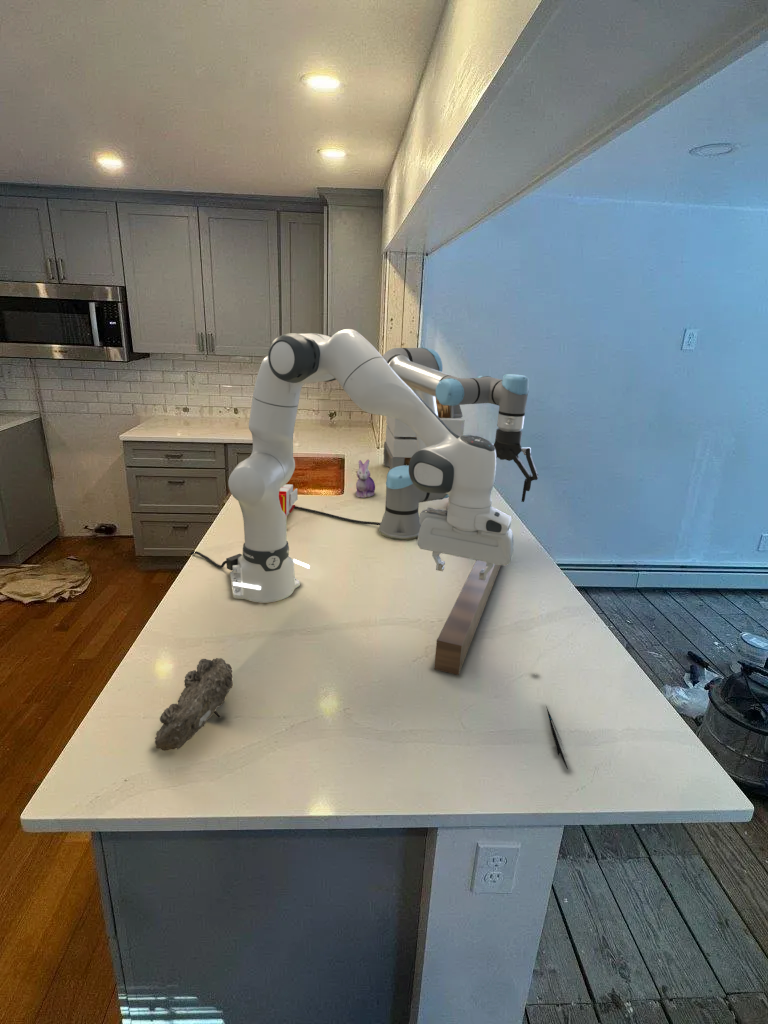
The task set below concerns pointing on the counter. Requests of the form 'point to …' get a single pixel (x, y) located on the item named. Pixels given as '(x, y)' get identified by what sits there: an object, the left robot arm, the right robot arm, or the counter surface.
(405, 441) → the white storage bin
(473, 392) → the right robot arm
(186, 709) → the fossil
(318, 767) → the counter surface
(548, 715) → the feather
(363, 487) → the figurine
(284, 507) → the toy
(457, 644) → the bar
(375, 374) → the left robot arm
